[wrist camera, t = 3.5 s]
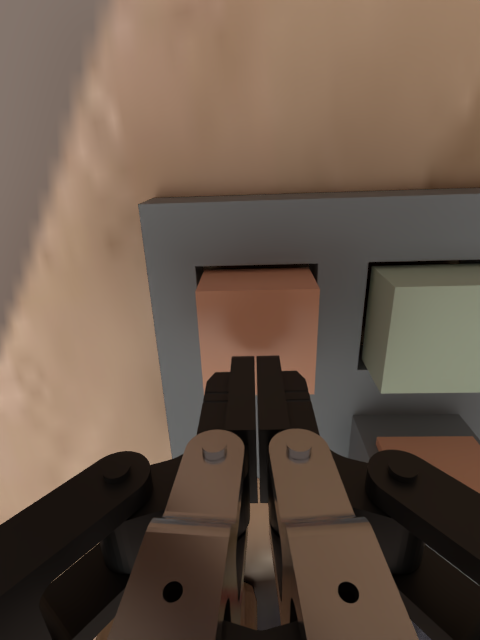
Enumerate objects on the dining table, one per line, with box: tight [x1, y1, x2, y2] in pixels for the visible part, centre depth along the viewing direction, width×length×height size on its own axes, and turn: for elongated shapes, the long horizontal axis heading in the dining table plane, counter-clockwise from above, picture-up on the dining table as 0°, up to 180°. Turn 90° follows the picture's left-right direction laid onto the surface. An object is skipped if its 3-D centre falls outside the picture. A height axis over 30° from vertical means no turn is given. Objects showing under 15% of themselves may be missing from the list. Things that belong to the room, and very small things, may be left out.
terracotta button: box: [195, 268, 320, 395], centre depth 15 cm, size 4×4×3 cm
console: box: [138, 188, 480, 585], centre depth 15 cm, size 23×14×8 cm, turn 92°
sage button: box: [362, 263, 480, 394], centre depth 15 cm, size 4×4×3 cm
